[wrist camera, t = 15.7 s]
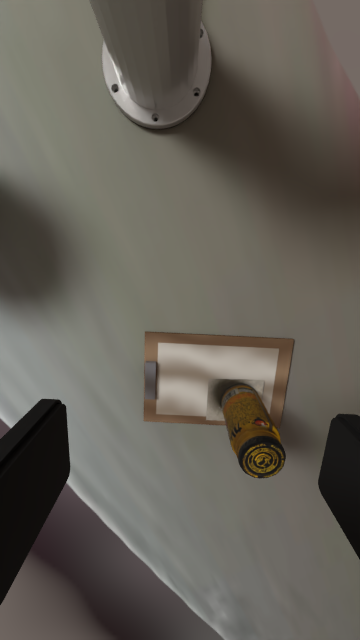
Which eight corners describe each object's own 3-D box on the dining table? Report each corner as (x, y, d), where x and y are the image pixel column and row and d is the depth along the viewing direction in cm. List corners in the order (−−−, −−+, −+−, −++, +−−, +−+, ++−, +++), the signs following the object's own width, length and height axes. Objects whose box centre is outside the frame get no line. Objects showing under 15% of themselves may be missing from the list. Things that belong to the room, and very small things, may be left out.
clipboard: (145, 331, 37) (144, 333, 36) (292, 338, 37) (296, 341, 36) (144, 419, 41) (142, 424, 40) (278, 426, 41) (281, 431, 40)
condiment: (258, 421, 40) (289, 487, 28) (205, 419, 40) (214, 484, 28) (263, 379, 38) (298, 432, 27) (208, 377, 38) (218, 429, 27)
